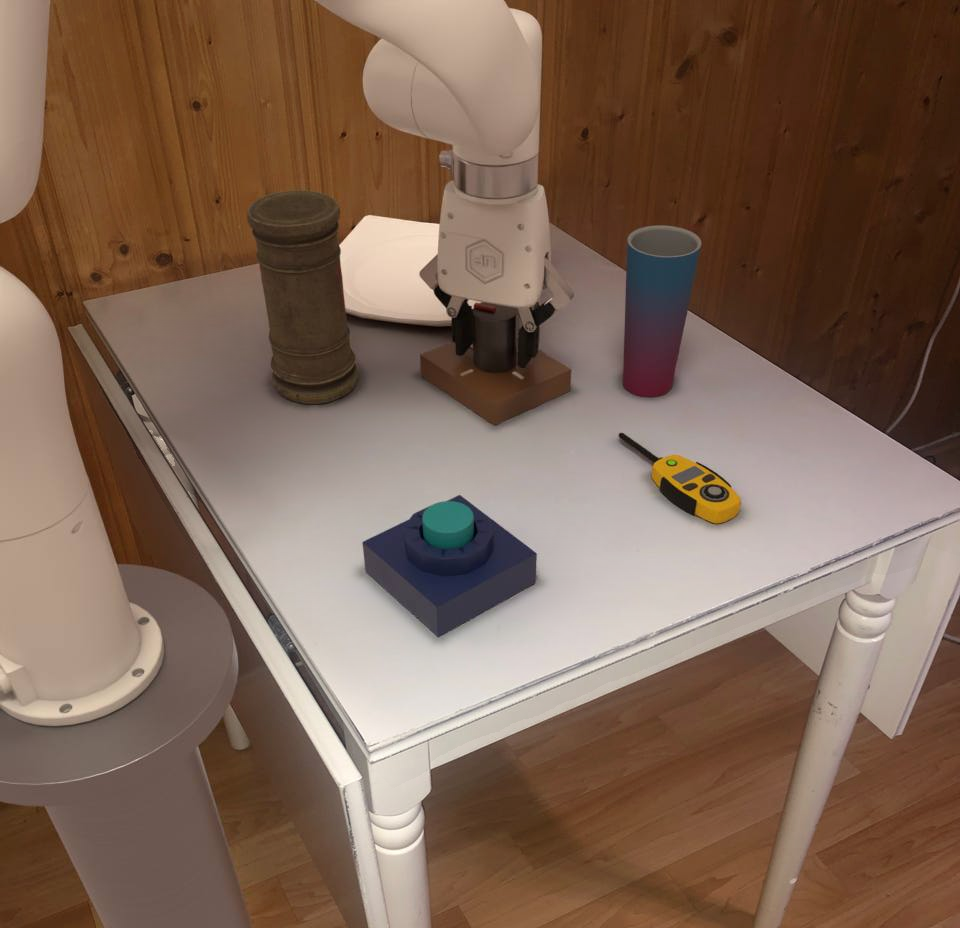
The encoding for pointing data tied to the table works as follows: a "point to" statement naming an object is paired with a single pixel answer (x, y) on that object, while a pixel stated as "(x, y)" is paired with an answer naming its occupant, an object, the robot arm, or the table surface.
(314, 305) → the container
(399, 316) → the plate
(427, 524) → the teal button cap
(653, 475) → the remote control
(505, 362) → the dial
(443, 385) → the console
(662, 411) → the table surface
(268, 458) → the table surface
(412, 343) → the table surface
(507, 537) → the teal button cap base
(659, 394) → the cup
